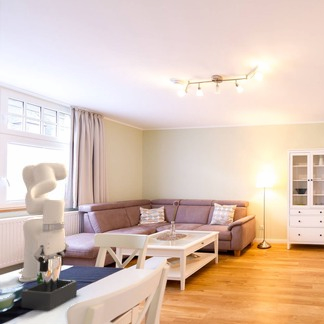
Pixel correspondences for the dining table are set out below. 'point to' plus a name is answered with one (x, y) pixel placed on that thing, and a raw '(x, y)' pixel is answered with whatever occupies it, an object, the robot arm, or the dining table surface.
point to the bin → (48, 295)
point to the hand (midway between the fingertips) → (51, 268)
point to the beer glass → (52, 273)
